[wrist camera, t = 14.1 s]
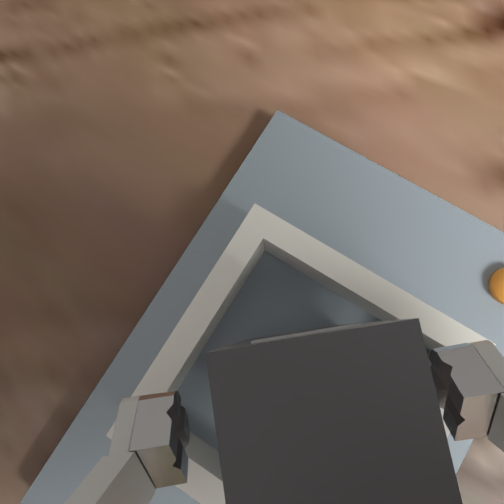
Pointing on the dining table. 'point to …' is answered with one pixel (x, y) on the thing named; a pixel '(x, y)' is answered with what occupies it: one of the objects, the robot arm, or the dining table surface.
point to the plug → (331, 418)
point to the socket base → (290, 290)
